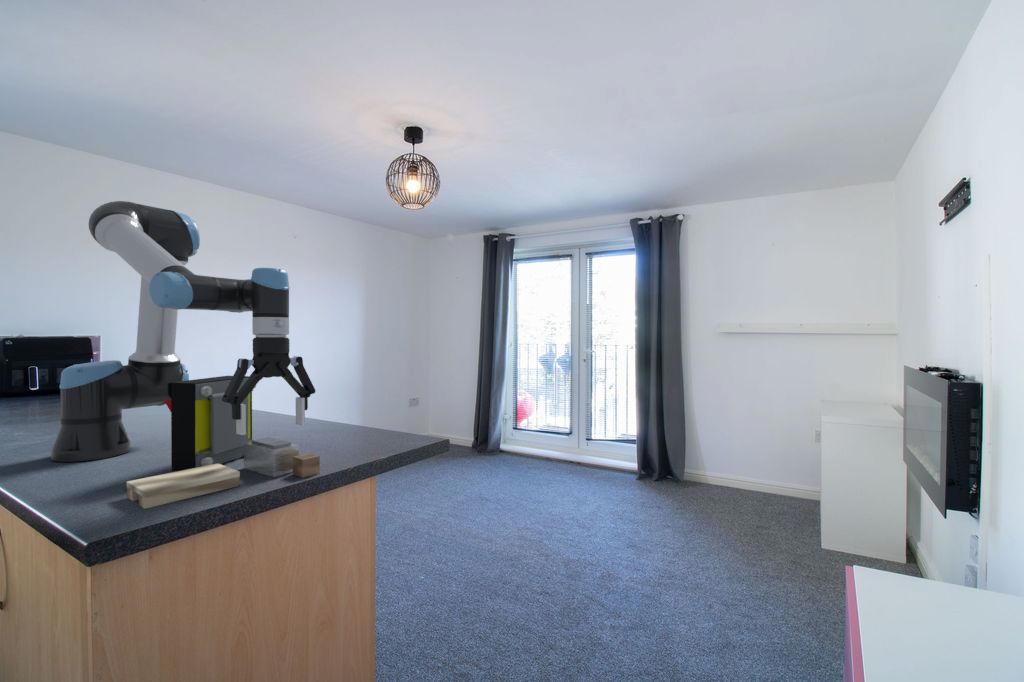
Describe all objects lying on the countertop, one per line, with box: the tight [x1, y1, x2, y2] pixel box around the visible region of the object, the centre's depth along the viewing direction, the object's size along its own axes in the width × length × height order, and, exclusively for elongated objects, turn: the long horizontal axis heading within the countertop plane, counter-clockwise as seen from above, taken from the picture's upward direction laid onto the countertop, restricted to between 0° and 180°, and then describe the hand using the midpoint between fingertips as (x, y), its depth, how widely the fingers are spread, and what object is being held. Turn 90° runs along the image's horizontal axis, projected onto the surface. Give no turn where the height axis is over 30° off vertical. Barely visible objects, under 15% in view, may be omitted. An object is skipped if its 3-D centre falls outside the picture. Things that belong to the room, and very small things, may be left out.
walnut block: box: [292, 452, 321, 478], centre depth 107 cm, size 4×4×4 cm
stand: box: [126, 463, 241, 510], centre depth 94 cm, size 10×16×3 cm, turn 144°
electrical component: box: [165, 375, 257, 472], centre depth 116 cm, size 18×10×20 cm, turn 168°
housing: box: [243, 437, 300, 478], centre depth 110 cm, size 12×6×7 cm, turn 58°
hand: (272, 429), depth 110 cm, fingers open, 13 cm apart
